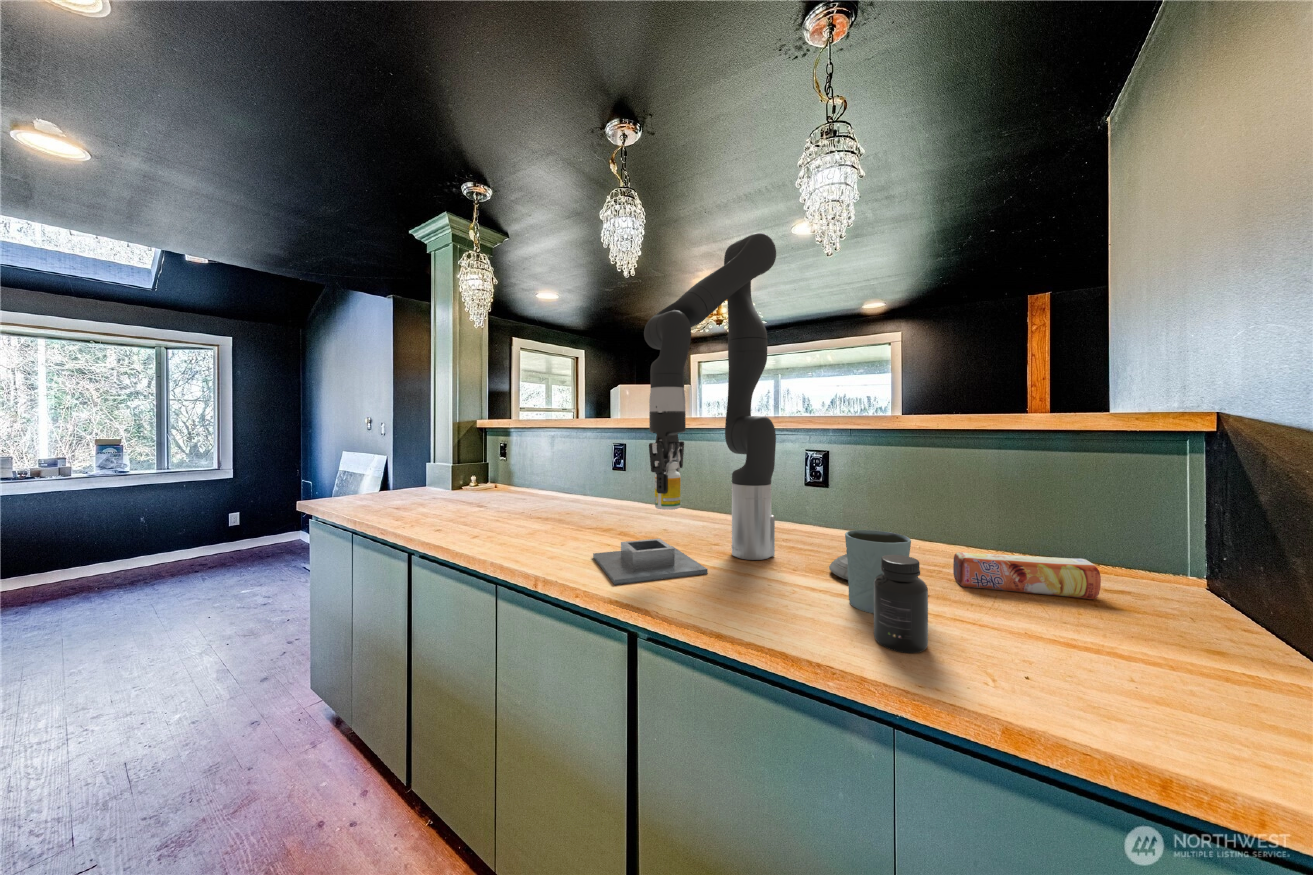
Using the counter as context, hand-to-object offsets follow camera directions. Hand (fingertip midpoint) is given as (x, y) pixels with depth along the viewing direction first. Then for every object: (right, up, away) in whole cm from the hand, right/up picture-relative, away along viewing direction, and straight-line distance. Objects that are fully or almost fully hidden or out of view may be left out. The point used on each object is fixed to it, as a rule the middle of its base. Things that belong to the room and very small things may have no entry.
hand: (667, 490), depth 95 cm
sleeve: (-4, -17, +6) cm, 19 cm away
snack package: (+66, -18, -9) cm, 69 cm away
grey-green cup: (+36, -18, -17) cm, 43 cm away
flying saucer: (+41, -18, -2) cm, 45 cm away
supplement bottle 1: (0, -4, 0) cm, 4 cm away
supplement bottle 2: (+32, -18, -31) cm, 48 cm away
